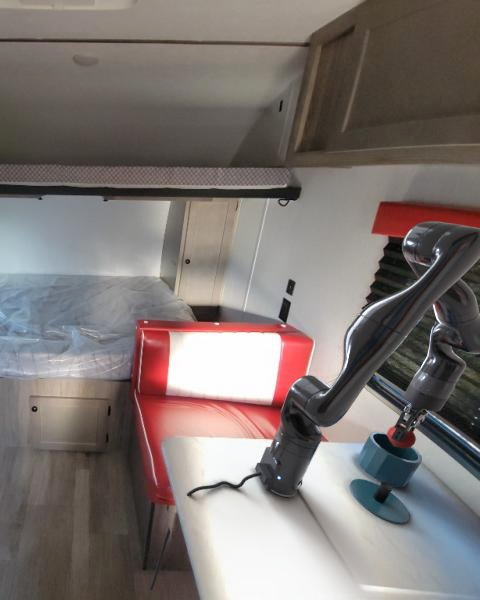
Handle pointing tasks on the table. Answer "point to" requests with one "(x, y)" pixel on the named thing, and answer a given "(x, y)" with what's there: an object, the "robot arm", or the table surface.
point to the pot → (388, 460)
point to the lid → (379, 500)
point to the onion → (406, 442)
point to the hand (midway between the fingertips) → (400, 436)
